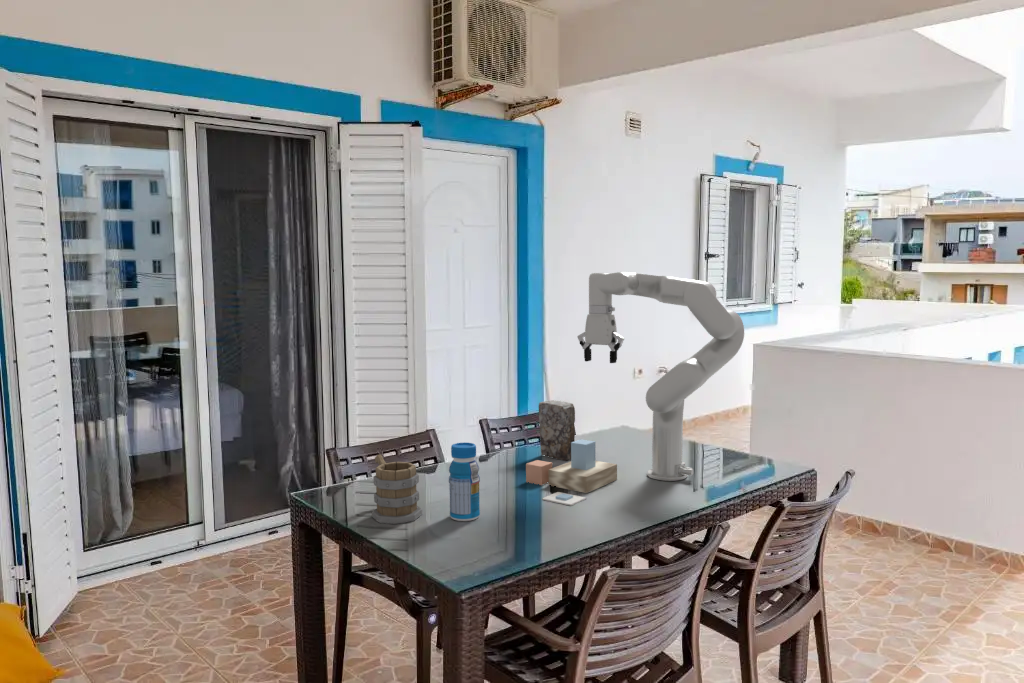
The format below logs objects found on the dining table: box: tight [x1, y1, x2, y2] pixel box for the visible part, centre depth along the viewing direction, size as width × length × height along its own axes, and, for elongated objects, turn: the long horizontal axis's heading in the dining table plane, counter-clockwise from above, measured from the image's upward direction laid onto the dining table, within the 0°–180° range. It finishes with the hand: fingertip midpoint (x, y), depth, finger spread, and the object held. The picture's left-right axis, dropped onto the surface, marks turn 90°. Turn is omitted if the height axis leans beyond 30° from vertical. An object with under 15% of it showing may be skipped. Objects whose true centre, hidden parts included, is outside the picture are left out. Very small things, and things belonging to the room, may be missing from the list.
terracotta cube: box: [525, 459, 553, 486], centre depth 238 cm, size 6×6×6 cm
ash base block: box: [548, 460, 618, 494], centre depth 236 cm, size 14×18×5 cm
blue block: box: [570, 438, 597, 470], centre depth 235 cm, size 6×6×8 cm
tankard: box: [371, 453, 423, 525], centre depth 208 cm, size 20×13×15 cm, turn 30°
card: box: [541, 491, 587, 507], centre depth 219 cm, size 10×8×1 cm
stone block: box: [538, 399, 576, 462], centre depth 268 cm, size 13×7×20 cm, turn 49°
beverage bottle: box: [448, 442, 481, 522], centre depth 203 cm, size 8×8×20 cm
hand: (600, 361), depth 248 cm, fingers open, 9 cm apart
